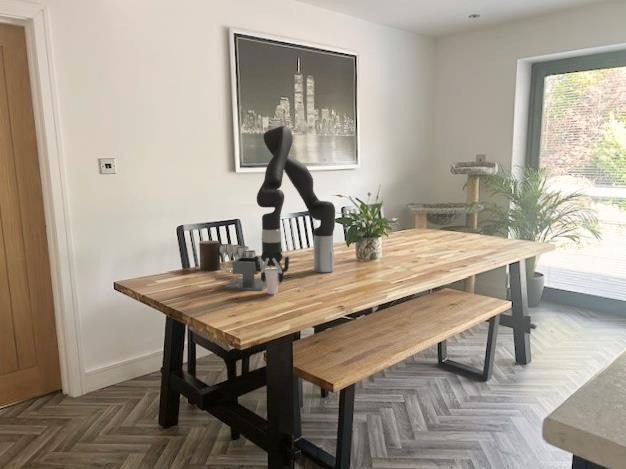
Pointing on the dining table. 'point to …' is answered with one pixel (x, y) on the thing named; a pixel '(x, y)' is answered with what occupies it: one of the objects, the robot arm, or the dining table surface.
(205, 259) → the pillar candle
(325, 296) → the dining table surface
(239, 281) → the stand
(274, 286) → the smoothie
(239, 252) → the goblet set
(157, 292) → the dining table surface
